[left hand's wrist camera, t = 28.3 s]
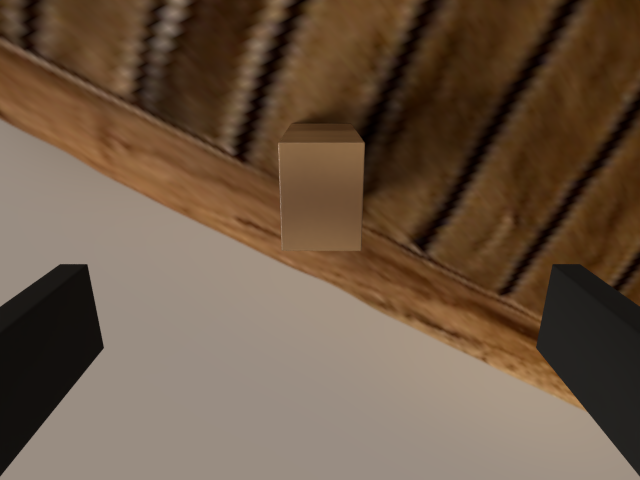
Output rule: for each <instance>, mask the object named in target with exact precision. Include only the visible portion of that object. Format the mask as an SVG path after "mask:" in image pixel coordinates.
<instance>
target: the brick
mask: <svg viewBox="0 0 640 480" xmlns="http://www.w3.org/2000/svg"><path fill="white" fill-rule="evenodd" d="M278 152H279V183H280V214H281V245H282V251H361V242H362V213H363V185H364V156H365V143H364V141H363V140H362V138H361V137H360V136H359V134H358V133H357V131H356V130H355V129H354V127H353V126H352V124H291V125H290V126H289V128H288V129H287V131H286V132H285V134H284V135H283V137H282V138H281V140H280V141H279V143H278Z"/></svg>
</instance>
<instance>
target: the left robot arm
mask: <svg viewBox="0 0 640 480" xmlns="http://www.w3.org/2000/svg"><path fill="white" fill-rule="evenodd" d="M103 348H104V346H103V341H102V336H101V331H100V326H99V321H98V316H97V311H96V306H95V301H94V296H93V291H92V286H91V281H90V275H89V270H88V265H87V264H60V265H59V266H57V267H56V268H54V269H53V270H51V271H50V272H49V273H47V274H46V275H44V276H43V277H42V278H40V279H39V280H37V281H36V282H35V283H33V284H32V285H30V286H29V287H27V288H26V289H25V290H23V291H22V292H20V293H19V294H18V295H16V296H15V297H13V298H12V299H11V300H9V301H8V302H6V303H5V304H4V305H2V306H1V307H0V476H1V475H2V473H3V472H4V471H5V470H6V468H7V467H8V466H9V465H10V464H11V462H12V461H13V460H14V459H15V457H16V456H17V455H18V454H19V452H20V451H21V450H22V449H23V447H24V446H25V445H26V444H27V443H28V441H29V440H30V439H31V437H32V436H33V435H34V434H35V433H36V431H37V430H38V429H39V428H40V426H41V425H42V424H43V423H44V421H45V420H46V419H47V418H48V416H49V415H50V414H51V413H52V411H53V410H54V409H55V408H56V407H57V405H58V404H59V403H60V402H61V400H62V399H63V398H64V397H65V395H66V394H67V393H68V392H69V390H70V389H71V388H72V387H73V385H74V384H75V383H76V382H77V381H78V379H79V378H80V377H81V376H82V374H83V373H84V372H85V371H86V369H87V368H88V367H89V366H90V364H91V363H92V362H93V361H94V359H95V358H96V357H97V356H98V354H99V353H100V352H101V351H102V350H103ZM536 348H537V350H538V351H539V352H540V353H541V355H542V356H543V357H544V358H545V359H546V361H547V362H548V363H549V364H550V366H551V367H552V368H553V369H554V371H555V372H556V373H557V374H558V376H559V377H560V378H561V379H562V381H563V382H564V383H565V384H566V386H567V387H568V388H569V389H570V390H571V392H572V393H573V394H574V395H575V397H576V398H577V399H578V400H579V402H580V403H581V404H582V405H583V407H584V408H585V409H586V410H587V412H588V413H589V414H590V415H591V416H592V418H593V419H594V420H595V421H596V423H597V424H598V425H599V426H600V428H601V429H602V430H603V431H604V433H605V434H606V435H607V436H608V438H609V439H610V440H611V441H612V443H613V444H614V445H615V446H616V447H617V449H618V450H619V451H620V452H621V454H622V455H623V456H624V457H625V459H626V460H627V461H628V462H629V464H630V465H631V466H632V467H633V469H634V470H635V471H636V472H637V473H638V475H639V476H640V307H639V306H638V305H637V304H635V303H634V302H632V301H631V300H629V299H628V298H627V297H625V296H624V295H622V294H621V293H620V292H618V291H617V290H615V289H614V288H613V287H611V286H610V285H608V284H607V283H605V282H604V281H603V280H601V279H600V278H598V277H597V276H596V275H594V274H593V273H591V272H590V271H589V270H587V269H586V268H584V267H583V266H582V265H580V264H553V265H552V270H551V275H550V280H549V286H548V291H547V296H546V301H545V306H544V311H543V316H542V321H541V326H540V331H539V336H538V341H537V346H536Z"/></svg>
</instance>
